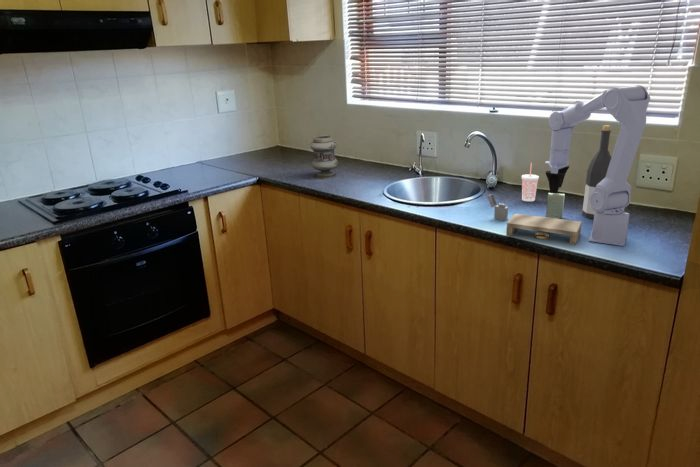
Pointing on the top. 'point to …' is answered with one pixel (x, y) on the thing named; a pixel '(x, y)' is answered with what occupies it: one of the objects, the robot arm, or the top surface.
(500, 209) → the lighter
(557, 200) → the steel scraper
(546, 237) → the brass token
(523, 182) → the beverage cup
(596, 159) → the wine bottle
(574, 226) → the oak shelf
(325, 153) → the apothecary jar
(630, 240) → the top surface
